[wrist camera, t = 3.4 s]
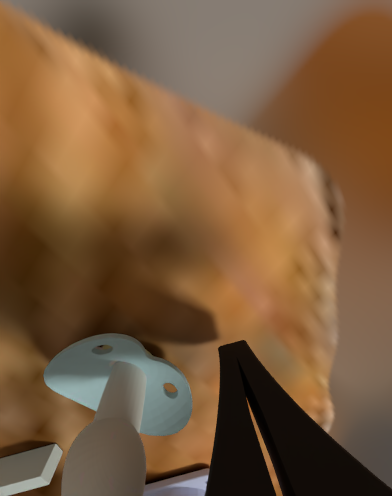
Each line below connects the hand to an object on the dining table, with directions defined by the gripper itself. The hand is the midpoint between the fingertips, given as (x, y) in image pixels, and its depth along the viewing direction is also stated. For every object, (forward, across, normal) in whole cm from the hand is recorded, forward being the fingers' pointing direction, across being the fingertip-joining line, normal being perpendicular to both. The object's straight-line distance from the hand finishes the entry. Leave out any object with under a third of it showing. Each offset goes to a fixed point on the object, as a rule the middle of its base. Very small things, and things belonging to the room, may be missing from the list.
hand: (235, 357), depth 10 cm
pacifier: (+2, +6, 0) cm, 7 cm away
